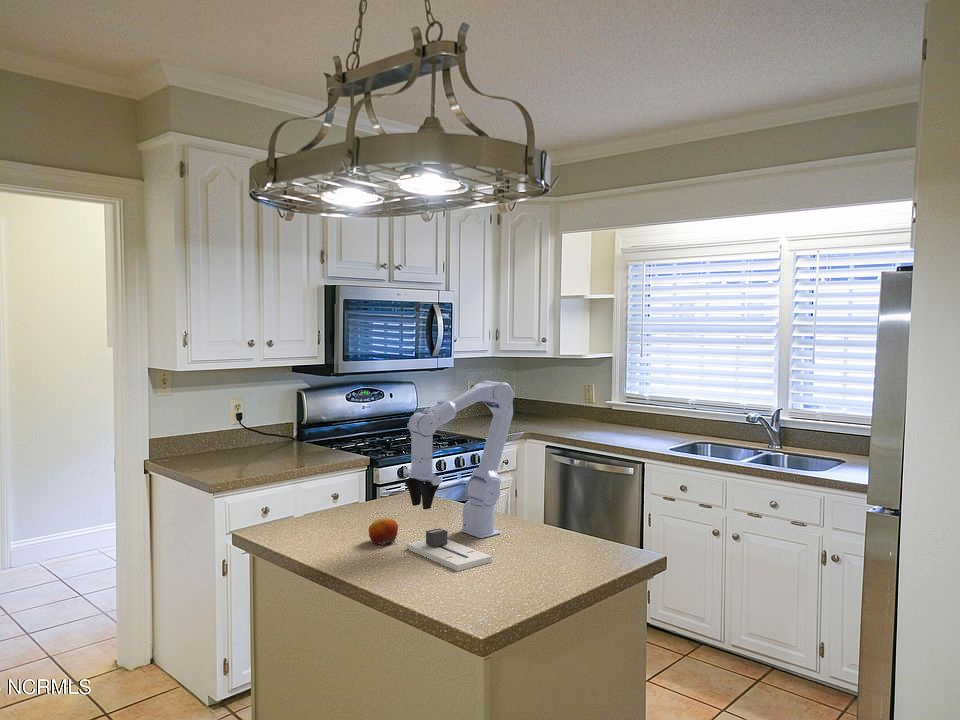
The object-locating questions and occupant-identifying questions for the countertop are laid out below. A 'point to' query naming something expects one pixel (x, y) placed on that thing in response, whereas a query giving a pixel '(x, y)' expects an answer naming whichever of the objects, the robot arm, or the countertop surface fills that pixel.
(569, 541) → the countertop surface
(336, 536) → the countertop surface
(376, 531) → the fruit
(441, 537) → the fader knob
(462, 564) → the fader console
